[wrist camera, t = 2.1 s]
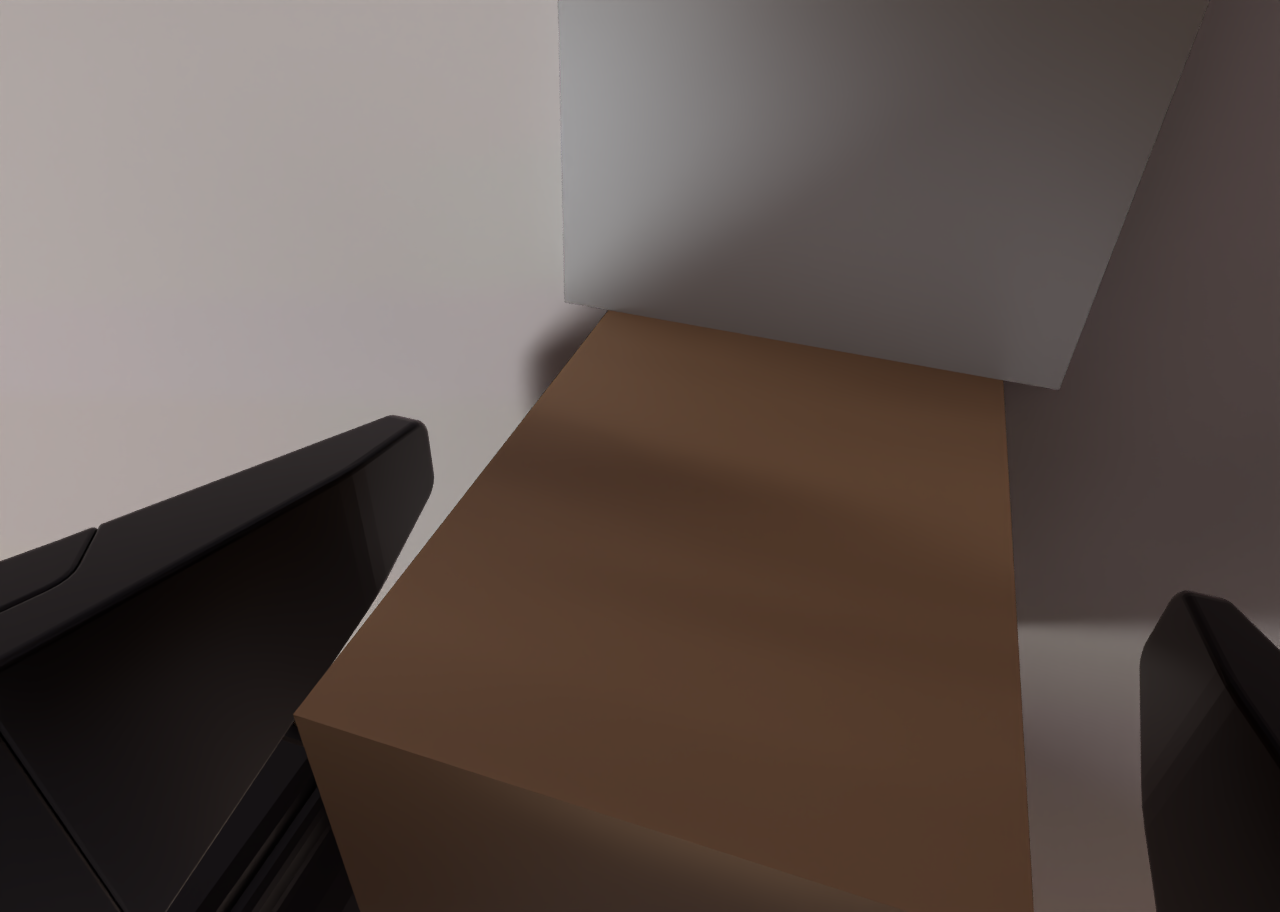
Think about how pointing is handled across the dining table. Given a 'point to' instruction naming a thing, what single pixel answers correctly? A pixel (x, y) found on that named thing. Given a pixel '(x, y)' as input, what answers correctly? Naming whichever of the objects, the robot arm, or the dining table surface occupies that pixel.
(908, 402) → the bracket
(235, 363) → the dining table surface
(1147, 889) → the dining table surface
